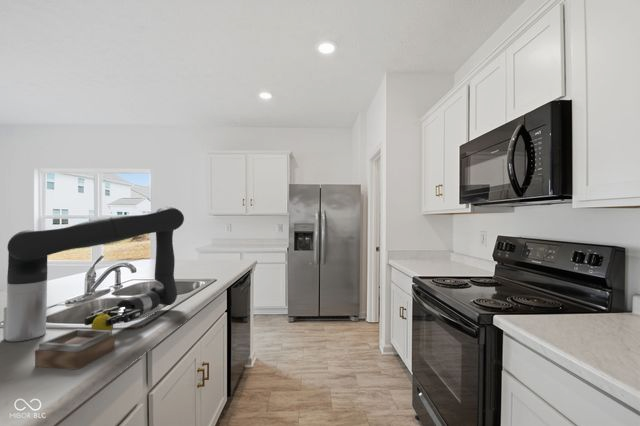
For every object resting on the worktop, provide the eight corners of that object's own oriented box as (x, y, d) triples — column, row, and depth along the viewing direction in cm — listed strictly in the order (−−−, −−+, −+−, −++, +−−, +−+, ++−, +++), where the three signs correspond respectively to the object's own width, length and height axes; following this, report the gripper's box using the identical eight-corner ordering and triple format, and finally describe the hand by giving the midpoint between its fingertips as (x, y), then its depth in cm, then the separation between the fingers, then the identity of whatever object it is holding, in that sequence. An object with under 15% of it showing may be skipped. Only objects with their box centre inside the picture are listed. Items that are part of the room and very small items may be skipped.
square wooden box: (34, 366, 80) (35, 344, 80) (76, 346, 92) (76, 327, 92) (78, 369, 78) (78, 347, 78) (114, 349, 90) (114, 330, 90)
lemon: (86, 342, 94) (87, 316, 95) (100, 335, 100) (100, 310, 100) (104, 343, 94) (105, 316, 94) (117, 336, 100) (117, 311, 100)
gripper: (116, 295, 112) (74, 309, 96) (154, 297, 111) (118, 311, 94) (115, 316, 112) (74, 333, 96) (153, 318, 111) (118, 336, 94)
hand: (96, 322), depth 95 cm, fingers open, 6 cm apart
